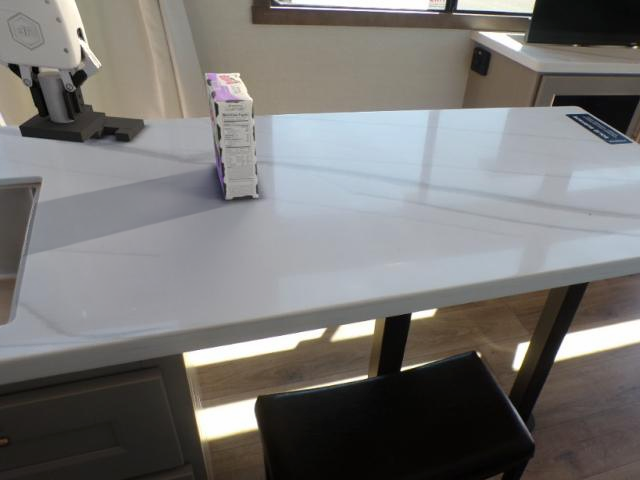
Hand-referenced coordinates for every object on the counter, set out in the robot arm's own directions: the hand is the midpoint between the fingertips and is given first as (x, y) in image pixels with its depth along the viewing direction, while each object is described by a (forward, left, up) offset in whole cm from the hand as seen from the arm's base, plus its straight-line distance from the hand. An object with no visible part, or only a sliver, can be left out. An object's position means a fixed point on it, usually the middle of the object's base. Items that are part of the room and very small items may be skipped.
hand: (62, 114), depth 73 cm
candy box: (+20, +11, -14) cm, 27 cm away
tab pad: (0, +1, -2) cm, 2 cm away
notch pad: (-7, +28, -14) cm, 32 cm away
